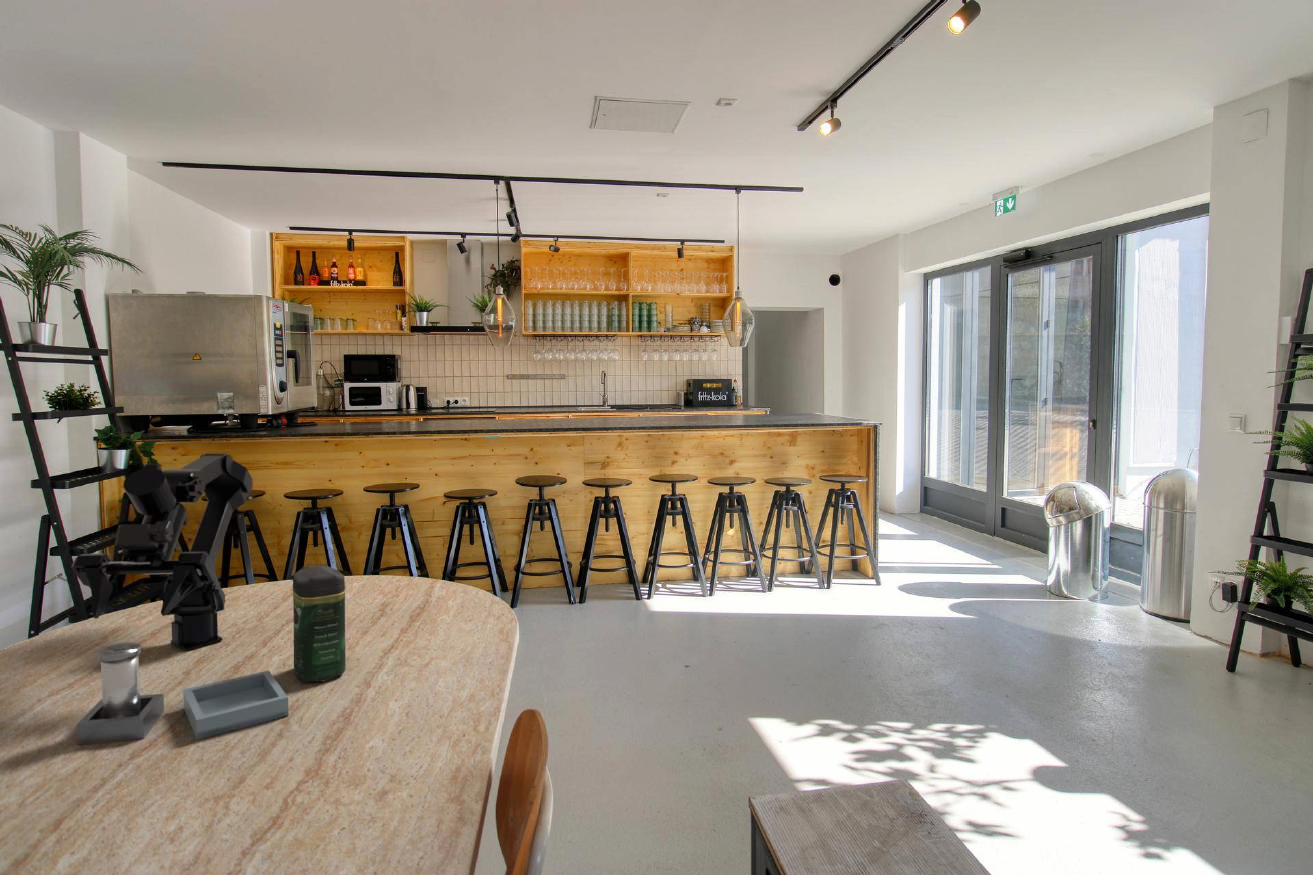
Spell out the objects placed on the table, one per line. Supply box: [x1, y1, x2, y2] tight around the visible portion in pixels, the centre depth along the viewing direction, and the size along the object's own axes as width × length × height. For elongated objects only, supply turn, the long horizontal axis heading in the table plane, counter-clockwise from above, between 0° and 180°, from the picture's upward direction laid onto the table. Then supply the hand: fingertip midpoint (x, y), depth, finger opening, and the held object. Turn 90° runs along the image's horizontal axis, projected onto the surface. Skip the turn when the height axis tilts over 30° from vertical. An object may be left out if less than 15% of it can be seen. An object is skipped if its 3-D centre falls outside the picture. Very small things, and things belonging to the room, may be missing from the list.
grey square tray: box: [76, 693, 165, 746], centre depth 107 cm, size 8×8×3 cm
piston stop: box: [97, 641, 142, 719], centre depth 107 cm, size 5×5×12 cm
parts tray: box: [182, 670, 289, 741], centre depth 113 cm, size 12×12×3 cm
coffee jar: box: [292, 564, 347, 682], centre depth 127 cm, size 10×8×19 cm
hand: (129, 615), depth 113 cm, fingers open, 9 cm apart
